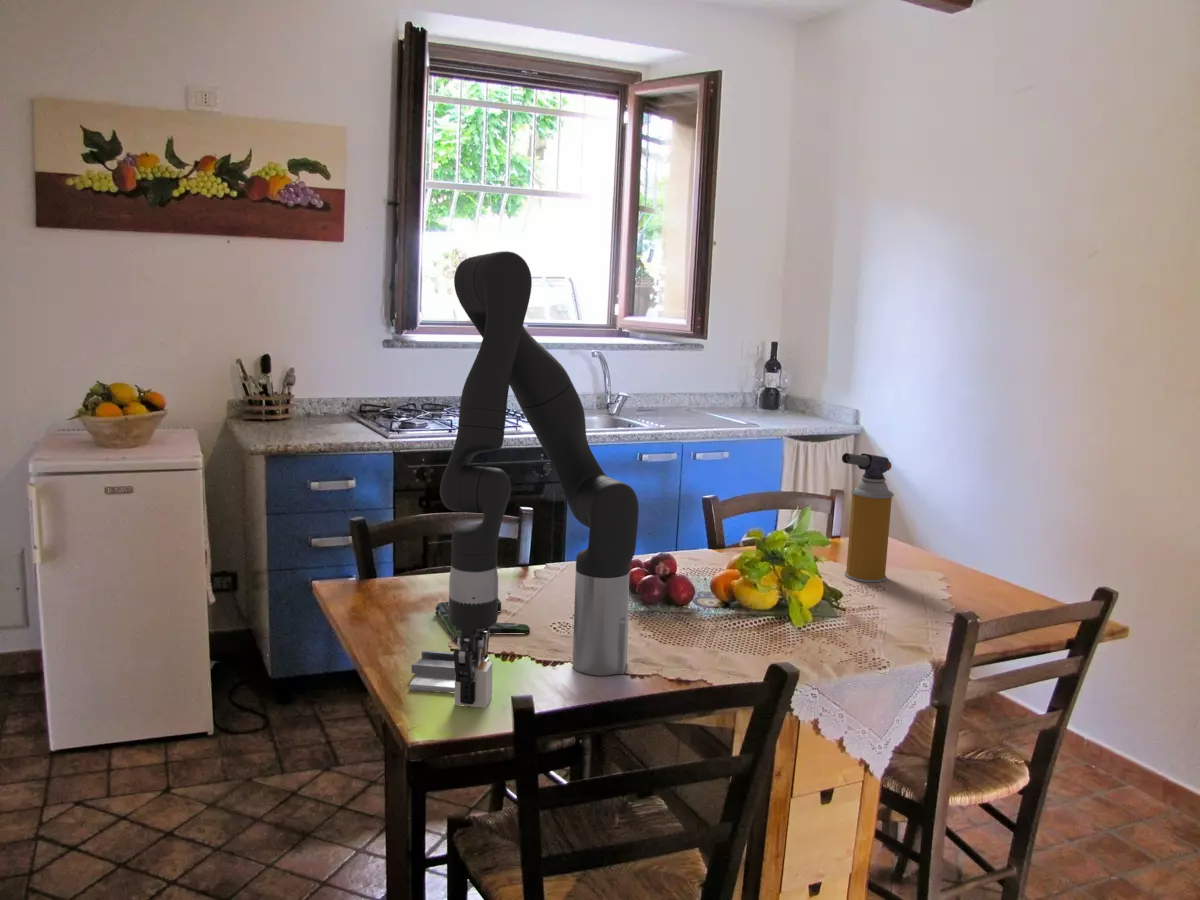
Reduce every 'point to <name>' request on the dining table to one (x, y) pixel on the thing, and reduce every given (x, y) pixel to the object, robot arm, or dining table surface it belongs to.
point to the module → (479, 686)
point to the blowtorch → (869, 519)
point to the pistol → (443, 611)
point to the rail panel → (434, 672)
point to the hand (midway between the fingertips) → (471, 695)
